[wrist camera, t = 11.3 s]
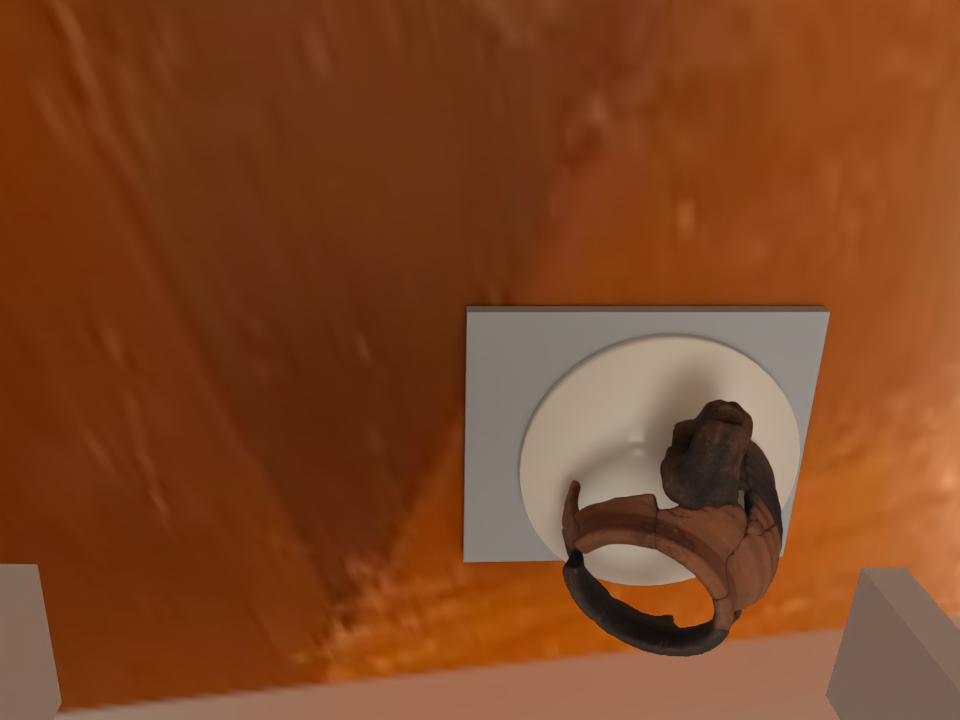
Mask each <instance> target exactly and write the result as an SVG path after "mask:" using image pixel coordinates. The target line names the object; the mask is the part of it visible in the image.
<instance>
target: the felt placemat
mask: <svg viewBox="0 0 960 720" xmlns="http://www.w3.org/2000/svg"><path fill="white" fill-rule="evenodd" d="M829 316H830V311H828V310H827V309H826V308H824V307H823V306H466V373H465V446H464V520H463V560H464V562H507V561H561V560H562V559H560V558H559V557H558V556H556V555H555V554H554V553H553V552H552V551H551V550H550V549H549V548H548V547H547V546H546V545H545V543H544V542H543V541H542V539H541V538H540V537H539V535H538V534H537V533H536V531H535V529H534V527H533V525H532V524H531V522H530V520H529V518H528V515H527V512H526V509H525V506H524V503H523V497H522V492H521V487H520V481H519V457H520V448H521V444H522V441H523V437H524V433H525V430H526V428H527V426H528V423H529V421H530V419H531V416H532V415H533V413H534V411H535V409H536V408H537V406H538V404H539V403H540V401H541V400H542V398H543V397H544V396H545V395H546V393H547V392H548V391H549V390H550V388H551V387H552V386H553V385H554V384H555V383H556V382H557V381H558V380H559V379H560V378H561V377H562V376H563V375H564V374H565V373H566V372H568V371H569V370H570V369H572V368H573V367H574V366H576V365H577V364H578V363H579V362H581V361H583V360H584V359H586V358H588V357H589V356H591V355H593V354H594V353H596V352H598V351H600V350H602V349H605V348H607V347H609V346H611V345H614V344H616V343H620V342H623V341H626V340H629V339H632V338H637V337H643V336H648V335H656V334H687V335H694V336H700V337H705V338H709V339H712V340H715V341H718V342H721V343H724V344H727V345H729V346H731V347H733V348H735V349H737V350H739V351H741V352H742V353H744V354H745V355H747V356H748V357H749V358H751V359H752V360H754V361H755V362H756V363H757V364H758V365H759V366H760V367H761V368H762V369H764V370H765V371H766V372H767V373H768V374H769V376H770V377H771V378H772V379H773V380H774V381H775V383H776V384H777V385H778V386H779V388H780V389H781V390H782V392H783V393H784V395H785V397H786V398H787V400H788V402H789V404H790V406H791V408H792V411H793V414H794V416H795V419H796V422H797V427H798V433H799V442H800V456H799V465H798V471H797V475H796V478H795V482H794V486H793V488H792V490H791V493H790V495H789V498H788V500H787V502H786V504H785V505H784V507H783V509H782V514H781V518H782V526H783V536H782V549H781V553H780V556H783V553H784V548H785V542H786V537H787V532H788V527H789V522H790V517H791V512H792V506H793V501H794V496H795V491H796V486H797V481H798V476H799V470H800V465H801V460H802V455H803V450H804V445H805V440H806V434H807V429H808V424H809V419H810V414H811V409H812V403H813V398H814V393H815V388H816V383H817V378H818V373H819V367H820V362H821V357H822V352H823V347H824V342H825V337H826V331H827V326H828V321H829Z"/></svg>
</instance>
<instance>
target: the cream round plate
mask: <svg viewBox="0 0 960 720" xmlns="http://www.w3.org/2000/svg"><path fill="white" fill-rule="evenodd" d="M719 399H721V400H724V401H728V402H730V401H734V402H737V403H738V404H739V405H740V406H741V407H742V408H743V409H744V410H745V411H746V412H747V413H749V414H750V416H751V417H752V421H753V432H752V437H751V440H752V441H753V442H755V443H756V444H757V445H758V446H759V447H760V448H761V450H762V451H763V453H764V454H765V456H766V457H767V459H768V461H769V463H770V465H771V467H772V470H773V473H774V478H775V485H776V490H777V494H778V498H779V503H780V506H781V511H782V509H783V507H784V505H785V504H786V502H787V500H788V498H789V495H790V493H791V490H792V488H793V486H794V482H795V478H796V475H797V471H798V465H799V456H800V442H799V433H798V427H797V422H796V419H795V416H794V414H793V411H792V408H791V406H790V404H789V402H788V400H787V398H786V397H785V395H784V393H783V392H782V390H781V389H780V388H779V386H778V385H777V384H776V383H775V381H774V380H773V379H772V378H771V377H770V376H769V374H768V373H767V372H766V371H765V370H764V369H762V368H761V367H760V366H759V365H758V364H757V363H756V362H755V361H754V360H752V359H751V358H749V357H748V356H747V355H745V354H744V353H742V352H741V351H739V350H737V349H735V348H733V347H731V346H729V345H727V344H724V343H721V342H718V341H715V340H712V339H709V338H705V337H700V336H694V335H687V334H656V335H648V336H643V337H637V338H632V339H629V340H626V341H623V342H620V343H616V344H614V345H611V346H609V347H607V348H605V349H602V350H600V351H598V352H596V353H594V354H593V355H591V356H589V357H588V358H586V359H584V360H583V361H581V362H579V363H578V364H577V365H576V366H574V367H573V368H572V369H570V370H569V371H568V372H566V373H565V374H564V375H563V376H562V377H561V378H560V379H559V380H558V381H557V382H556V383H555V384H554V385H553V386H552V387H551V388H550V390H549V391H548V392H547V393H546V395H545V396H544V397H543V398H542V400H541V401H540V403H539V404H538V406H537V408H536V409H535V411H534V413H533V415H532V416H531V419H530V421H529V423H528V426H527V428H526V430H525V433H524V437H523V441H522V444H521V448H520V457H519V481H520V487H521V492H522V497H523V503H524V506H525V509H526V512H527V515H528V518H529V520H530V522H531V524H532V525H533V527H534V529H535V531H536V533H537V534H538V535H539V537H540V538H541V539H542V541H543V542H544V543H545V545H546V546H547V547H548V548H549V549H550V550H551V551H552V552H553V553H554V554H555V555H556V556H558V557H559V558H560V559H562V560H563V561H564V562H567V560H568V559H569V557H568V554H567V551H566V547H565V542H564V538H563V535H562V529H563V526H562V516H563V511H564V504H565V500H566V497H567V494H568V491H569V487H570V485H571V483H572V481H573V480H576V481H578V482H579V483H580V486H581V489H580V492H579V498H578V508H579V510H581V509H582V508H584V507H586V506H589V505H591V504H595V503H601V502H604V501H608V500H610V499H613V498H616V497H628V496H634V495H642V494H648V493H649V494H654V495H655V497H656V500H657V504H658V508H659V509H671V508H674V507H676V506H678V504H677V503H675V502H673V501H671V500H670V499H669V498H668V497H667V496H666V494H665V492H664V490H663V487H662V478H661V474H660V465H661V462H662V461H663V460H664V458H665V455H666V451H667V449H668V447H670V446H671V445H672V436H673V429H674V428H675V427H674V426H675V424H676V423H678V422H681V421H684V420H689V419H695V418H696V417H697V416H698V415H699V414H700V412H701V411H702V409H703V408H704V406H705V405H706V404H707V403H708V402H711V401H715V400H719ZM738 493H739V498H738V503H739V504H740V505H741V506H742V507H743V509H744V492H743V490H738ZM583 557H584V564H585V567H586V568H587V570H588V571H589V572H590V574H591V575H592V576H593V577H595V578H598V579H601V580H605V581H609V582H613V583H619V584H626V585H641V586H649V585H663V584H669V583H675V582H680V581H684V580H687V579H691V578H694V577H696V576H695V575H694V574H693V573H692V572H690V571H689V570H688V569H686V568H685V567H684V566H683V565H681V564H680V563H678V562H677V561H675V560H674V559H672V558H670V557H668V556H666V555H664V554H662V553H661V552H659V551H658V550H655V549H649V548H645V547H639V546H634V545H626V544H610V545H606V546H603V547H600V548H598V549H596V550H594V551H591V552H590V553H588V554H584V553H583Z"/></svg>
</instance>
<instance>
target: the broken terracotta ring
mask: <svg viewBox="0 0 960 720" xmlns="http://www.w3.org/2000/svg"><path fill="white" fill-rule="evenodd" d="M674 427H675V428H674V429H673V436H672V445H671V446H670V447H668V449H667V451H666V455H665V458H664V460H663V461H662V462H661V465H660V474H661V478H662V487H663V490H664V492H665V494H666V496H667V497H668V498H669V499H670V500H671V501H673V502H675V503H677V504H678V506H676V507H674V508H671V509H659V508H658V504H657V500H656V497H655V495H654V494H649V493H648V494H642V495H634V496H628V497H616V498H613V499H610V500H608V501H604V502H601V503H595V504H591V505H589V506H586V507H584V508H582V509H581V510H579V508H578V498H579V492H580V489H581V486H580V483H579V482H578V481H576V480H573V481H572V483H571V485H570V487H569V491H568V494H567V497H566V500H565V504H564V511H563V516H562V526H563V529H562V535H563V538H564V542H565V547H566V551H567V554H568V557H569V559H568V560H567V562H566V564H565V565H564V567H563V576H564V580H565V583H566V586H567V588H568V589H569V591H570V594H571V596H572V598H573V599H574V601H575V602H576V604H577V605H578V606H579V608H580V609H581V610H582V611H583V612H584V613H585V614H586V615H587V616H588V617H589V618H590V619H592V620H594V621H595V622H596V624H597V625H598V626H600V627H601V628H602V629H603V630H605V631H606V632H607V633H608V634H610V635H612V636H615V637H616V638H618V639H619V640H621V641H623V642H624V643H626V644H629V645H631V646H634V647H636V648H638V649H640V650H643V651H647V652H651V653H655V654H659V655H668V656H691V655H699V654H703V653H705V652H708V651H710V650H711V649H713V648H715V647H716V646H718V645H719V644H720V643H721V642H723V640H724V639H725V638H726V637H727V636H728V634H729V629H730V628H731V626H732V624H733V623H734V622H735V621H736V620H737V619H739V617H740V615H741V611H742V609H745V608H746V607H748V606H749V605H753V604H755V603H756V602H757V600H759V599H761V598H762V597H763V596H764V595H765V593H766V591H767V590H768V588H769V586H770V583H771V582H772V581H773V578H774V576H775V574H776V571H777V564H778V560H779V556H780V553H781V549H782V536H783V526H782V518H781V514H782V511H781V506H780V503H779V498H778V494H777V490H776V485H775V478H774V473H773V470H772V467H771V465H770V463H769V461H768V459H767V457H766V456H765V454H764V453H763V451H762V450H761V448H760V447H759V446H758V445H757V444H756V443H755V442H753V441H752V440H751V437H752V432H753V421H752V417H751V416H750V414H749V413H747V412H746V411H745V410H744V409H743V408H742V407H741V406H740V405H739V404H738V403H737V402H734V401H730V402H728V401H724V400H721V399H719V400H715V401H711V402H708V403H707V404H706V405H705V406H704V408H703V409H702V411H701V412H700V414H699V415H698V416H697V417H696V418H695V419H689V420H684V421H681V422H678V423H676V424H675V426H674ZM738 490H743V492H744V509H743V507H742V506H741V505H740V504H739V503H738V498H739V493H738ZM610 544H626V545H634V546H639V547H645V548H649V549H655V550H658V551H659V552H661V553H662V554H664V555H666V556H668V557H670V558H672V559H674V560H675V561H677V562H678V563H680V564H681V565H683V566H684V567H685V568H686V569H688V570H689V571H690V572H692V573H693V574H694V575H695V576H696V577H697V578H698V579H699V580H700V581H701V583H702V584H703V585H704V586H705V588H706V589H707V591H708V592H709V594H710V596H711V597H712V600H713V604H714V609H715V612H714V616H713V619H712V620H711V621H709V622H706V623H703V624H700V625H697V626H692V627H686V628H679V627H678V626H676V624H674V622H673V621H674V618H673V616H672V615H663V616H653V615H649V614H645V613H642V612H640V611H638V610H636V609H634V608H633V607H631V606H629V605H628V604H626V603H624V602H622V601H620V600H618V599H615V598H613V597H612V596H611V595H610V594H609V592H608V591H607V590H606V589H605V587H604V586H602V584H601V583H600V582H598V581H597V580H596V579H595V578H594V577H593V576H592V575H591V574H590V572H589V571H588V570H587V568H586V567H585V564H584V557H583V553H584V554H588V553H590V552H591V551H594V550H596V549H598V548H600V547H603V546H606V545H610Z"/></svg>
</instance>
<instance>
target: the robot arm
mask: <svg viewBox="0 0 960 720" xmlns="http://www.w3.org/2000/svg"><path fill="white" fill-rule="evenodd" d="M826 696H827V698H828V700H829V701H830V703H831V705H832V706H833V708H834V709H835V711H836V713H837V715H838V716H839V718H840V720H960V630H959V629H958V627H957V626H956V625H955V624H954V623H953V622H952V621H951V619H950V618H949V617H948V616H947V615H946V614H945V612H944V611H943V610H942V609H941V608H940V607H939V606H938V604H937V603H936V602H935V601H934V600H933V599H932V598H931V596H930V595H929V594H928V593H927V592H926V591H925V589H924V588H923V587H922V586H921V585H920V584H919V583H918V581H917V580H916V579H915V578H914V577H913V576H912V575H911V573H910V572H909V571H908V570H907V569H906V568H862V570H861V574H860V577H859V581H858V584H857V588H856V591H855V595H854V598H853V602H852V605H851V609H850V613H849V616H848V620H847V623H846V627H845V630H844V634H843V637H842V641H841V645H840V648H839V651H838V655H837V658H836V662H835V665H834V669H833V672H832V676H831V680H830V683H829V686H828V690H827V693H826ZM61 703H62V701H61V696H60V690H59V684H58V679H57V673H56V667H55V661H54V656H53V650H52V644H51V639H50V633H49V627H48V622H47V616H46V610H45V605H44V599H43V593H42V588H41V582H40V576H39V571H38V565H37V564H0V720H53V719H54V717H55V715H56V713H57V711H58V709H59V707H60V705H61Z"/></svg>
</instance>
